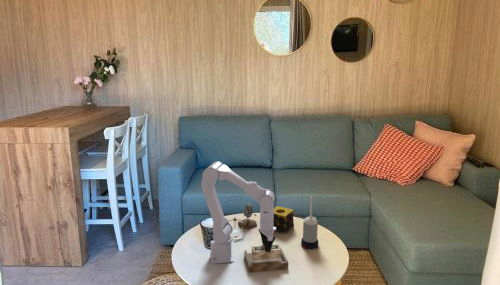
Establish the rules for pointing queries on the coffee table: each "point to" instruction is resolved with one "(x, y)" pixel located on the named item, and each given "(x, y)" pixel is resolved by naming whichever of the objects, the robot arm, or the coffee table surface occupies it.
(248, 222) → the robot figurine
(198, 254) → the coffee table surface
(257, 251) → the tumbler tray
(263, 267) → the wooden tray
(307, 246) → the humidifier
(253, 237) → the coffee table surface
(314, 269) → the coffee table surface
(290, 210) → the candle
